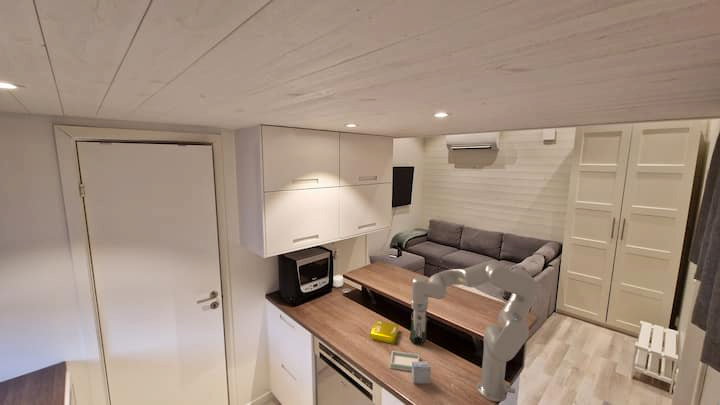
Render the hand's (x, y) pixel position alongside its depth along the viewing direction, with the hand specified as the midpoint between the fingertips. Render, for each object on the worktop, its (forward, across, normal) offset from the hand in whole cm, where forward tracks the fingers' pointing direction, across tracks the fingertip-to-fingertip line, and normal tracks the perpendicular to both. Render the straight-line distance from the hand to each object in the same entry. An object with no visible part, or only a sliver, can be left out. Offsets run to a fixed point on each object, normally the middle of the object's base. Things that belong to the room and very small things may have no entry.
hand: (417, 338), depth 138 cm
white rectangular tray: (+22, +11, +6) cm, 25 cm away
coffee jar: (+22, +32, -1) cm, 39 cm away
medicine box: (+22, 0, -2) cm, 22 cm away
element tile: (+22, +34, +19) cm, 45 cm away
